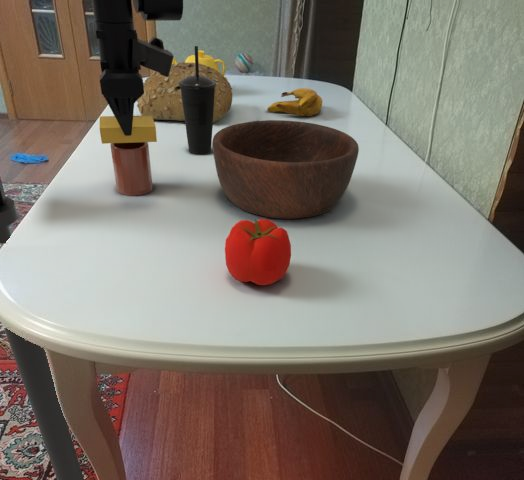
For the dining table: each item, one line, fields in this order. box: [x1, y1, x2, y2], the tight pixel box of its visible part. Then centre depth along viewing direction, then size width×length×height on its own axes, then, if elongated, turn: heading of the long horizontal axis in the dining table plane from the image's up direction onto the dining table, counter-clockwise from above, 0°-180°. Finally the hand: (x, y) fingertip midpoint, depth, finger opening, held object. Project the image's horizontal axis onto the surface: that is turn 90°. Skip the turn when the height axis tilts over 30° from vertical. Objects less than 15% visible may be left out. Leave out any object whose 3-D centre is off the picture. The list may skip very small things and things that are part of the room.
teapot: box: [172, 50, 229, 82], centre depth 151 cm, size 14×14×11 cm
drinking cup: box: [179, 45, 216, 156], centre depth 105 cm, size 8×8×20 cm
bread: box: [136, 61, 234, 123], centre depth 131 cm, size 24×21×12 cm
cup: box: [110, 142, 153, 196], centre depth 91 cm, size 6×6×8 cm
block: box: [98, 115, 158, 145], centre depth 86 cm, size 9×7×2 cm
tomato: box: [224, 218, 292, 286], centre depth 68 cm, size 9×9×8 cm
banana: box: [267, 87, 323, 117], centre depth 139 cm, size 15×19×6 cm
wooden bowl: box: [211, 119, 360, 220], centre depth 89 cm, size 25×25×10 cm
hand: (127, 129), depth 86 cm, fingers closed on block, 7 cm apart
